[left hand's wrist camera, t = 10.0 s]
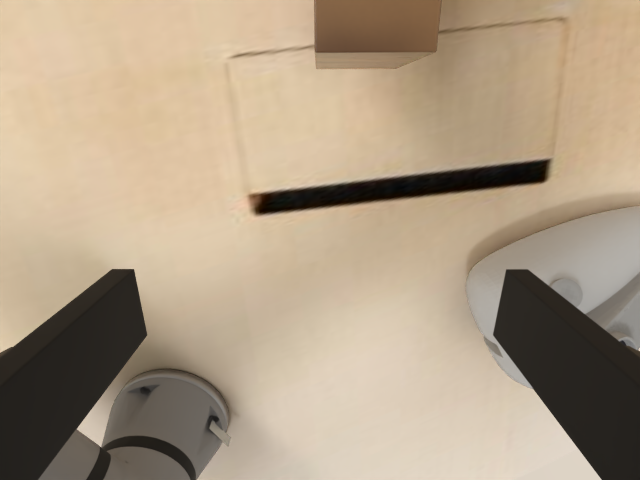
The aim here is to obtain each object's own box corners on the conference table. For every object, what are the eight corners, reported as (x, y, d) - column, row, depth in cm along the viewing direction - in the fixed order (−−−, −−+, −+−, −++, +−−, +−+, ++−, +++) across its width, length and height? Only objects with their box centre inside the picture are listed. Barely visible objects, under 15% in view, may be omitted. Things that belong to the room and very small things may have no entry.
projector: (593, 370, 47) (706, 480, 33) (427, 339, 45) (473, 440, 31) (690, 212, 39) (888, 268, 26) (494, 166, 38) (594, 201, 24)
